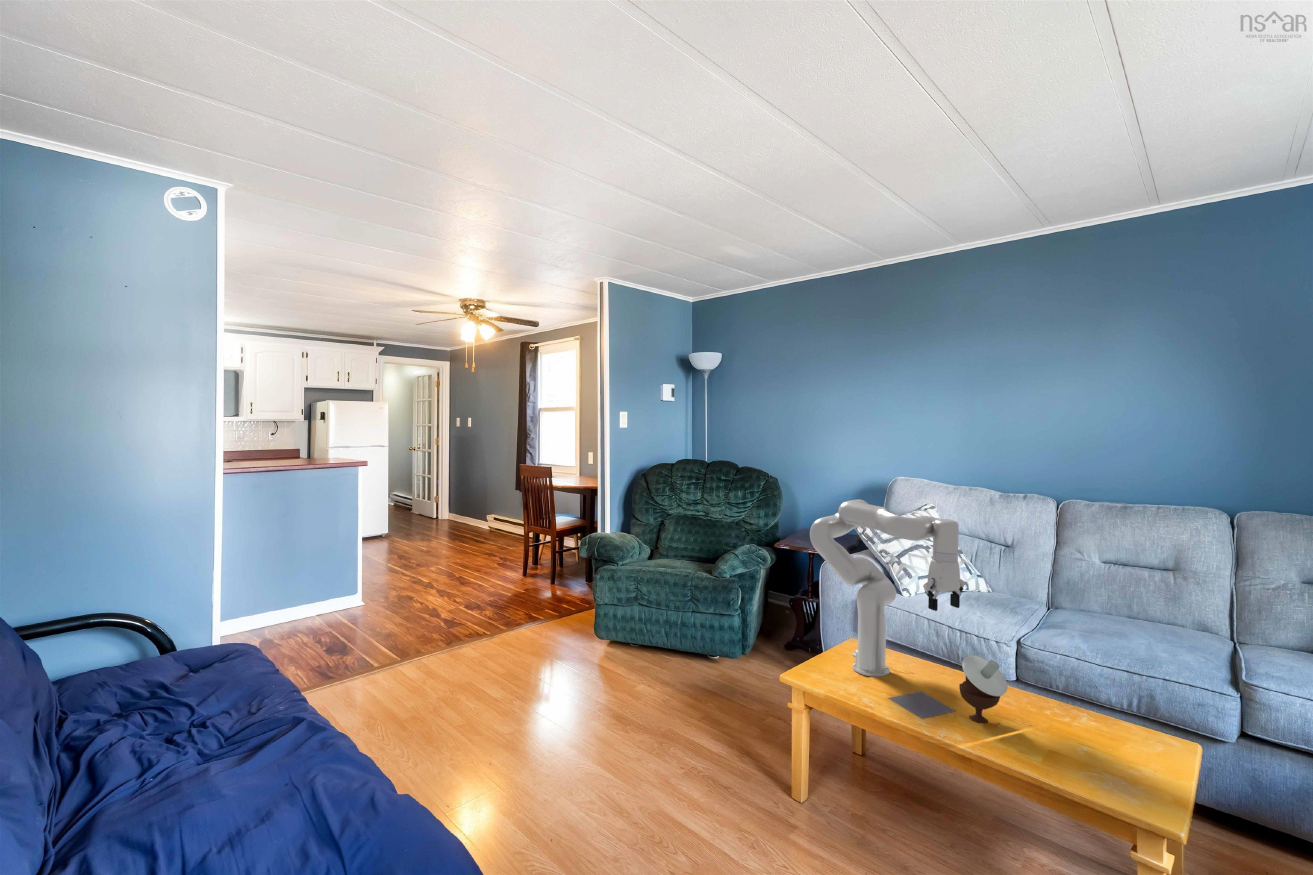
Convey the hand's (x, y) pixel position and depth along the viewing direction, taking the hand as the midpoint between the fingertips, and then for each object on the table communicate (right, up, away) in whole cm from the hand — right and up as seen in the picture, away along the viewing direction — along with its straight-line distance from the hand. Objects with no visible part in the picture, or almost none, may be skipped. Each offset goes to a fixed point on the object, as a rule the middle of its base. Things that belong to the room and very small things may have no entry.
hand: (943, 608), depth 192 cm
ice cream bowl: (+1, -29, -18) cm, 34 cm away
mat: (-12, -28, -9) cm, 32 cm away
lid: (+2, -15, -20) cm, 24 cm away
